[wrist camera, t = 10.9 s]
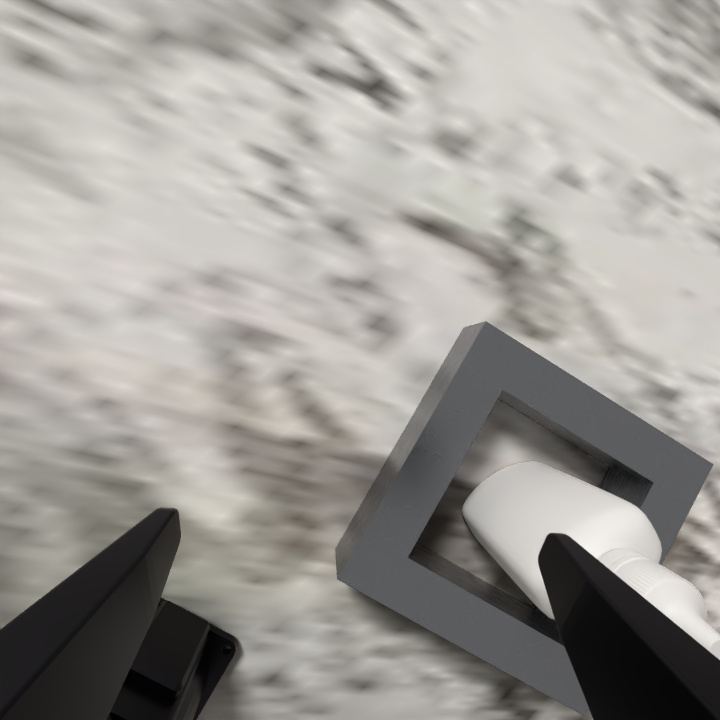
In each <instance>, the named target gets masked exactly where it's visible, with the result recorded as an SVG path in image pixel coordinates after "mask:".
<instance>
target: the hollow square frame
mask: <svg viewBox="0 0 720 720" xmlns="http://www.w3.org/2000/svg"><path fill="white" fill-rule="evenodd" d="M497 399H500V400H501V401H503V402H505V403H506V404H508V405H510V406H511V407H513V408H514V409H516V410H518V411H519V412H521V413H523V414H524V415H526V416H527V417H529V418H531V419H532V420H534V421H536V422H537V423H539V424H541V425H542V426H544V427H545V428H547V429H549V430H550V431H552V432H554V433H555V434H557V435H558V436H560V437H562V438H563V439H565V440H567V441H568V442H570V443H572V444H573V445H575V446H576V447H578V448H580V449H581V450H583V451H585V452H586V453H588V454H589V455H591V456H593V457H594V458H596V459H598V460H599V461H601V462H602V463H604V464H606V465H607V466H609V467H610V469H609V471H608V473H607V475H606V476H605V478H604V480H603V482H602V484H601V486H600V489H602V490H604V491H607V492H609V493H611V494H613V495H615V496H617V497H619V498H622V499H624V500H626V501H628V502H630V503H632V504H633V505H635V506H637V507H638V508H639V509H640V510H641V511H642V512H643V513H644V514H645V515H646V516H647V518H648V519H649V521H650V522H651V524H652V526H653V528H654V529H655V531H656V533H657V535H658V537H659V540H660V542H661V548H662V553H661V558H660V561H659V564H660V565H662V563H663V561H664V559H665V557H666V555H667V553H668V551H669V549H670V547H671V546H672V544H673V542H674V540H675V538H676V536H677V534H678V532H679V530H680V528H681V526H682V524H683V522H684V520H685V518H686V517H687V515H688V513H689V511H690V509H691V507H692V505H693V503H694V501H695V499H696V497H697V495H698V493H699V491H700V489H701V487H702V486H703V484H704V482H705V480H706V478H707V476H708V474H709V472H710V470H711V468H712V466H713V464H712V463H710V462H709V461H707V460H706V459H704V458H702V457H701V456H699V455H698V454H696V453H694V452H693V451H691V450H690V449H688V448H686V447H685V446H683V445H682V444H680V443H679V442H677V441H675V440H674V439H672V438H671V437H669V436H667V435H666V434H664V433H663V432H661V431H659V430H658V429H656V428H655V427H653V426H652V425H650V424H648V423H647V422H645V421H644V420H642V419H640V418H639V417H637V416H636V415H634V414H632V413H631V412H629V411H628V410H626V409H624V408H623V407H621V406H620V405H618V404H617V403H615V402H613V401H612V400H610V399H609V398H607V397H605V396H604V395H602V394H601V393H599V392H597V391H596V390H594V389H593V388H591V387H589V386H588V385H586V384H585V383H583V382H582V381H580V380H578V379H577V378H575V377H574V376H572V375H570V374H569V373H567V372H566V371H564V370H562V369H561V368H559V367H558V366H556V365H554V364H553V363H551V362H550V361H548V360H547V359H545V358H543V357H542V356H540V355H539V354H537V353H535V352H534V351H532V350H531V349H529V348H527V347H526V346H524V345H523V344H521V343H519V342H518V341H516V340H515V339H513V338H512V337H510V336H508V335H507V334H505V333H504V332H502V331H500V330H499V329H497V328H496V327H494V326H492V325H491V324H489V323H488V322H486V321H485V322H482V323H478V324H475V325H471V326H468V327H464V328H463V330H462V332H461V333H460V335H459V337H458V339H457V340H456V342H455V344H454V346H453V347H452V349H451V351H450V352H449V354H448V356H447V358H446V359H445V361H444V363H443V364H442V366H441V368H440V370H439V371H438V373H437V375H436V377H435V378H434V380H433V382H432V383H431V385H430V387H429V389H428V390H427V392H426V394H425V396H424V397H423V399H422V401H421V402H420V404H419V406H418V408H417V409H416V411H415V413H414V414H413V416H412V418H411V420H410V421H409V423H408V425H407V427H406V428H405V430H404V432H403V433H402V435H401V437H400V439H399V440H398V442H397V444H396V445H395V447H394V449H393V451H392V452H391V454H390V456H389V458H388V459H387V461H386V463H385V464H384V466H383V468H382V470H381V471H380V473H379V475H378V476H377V478H376V480H375V482H374V483H373V485H372V487H371V489H370V490H369V492H368V494H367V495H366V497H365V499H364V501H363V502H362V504H361V506H360V507H359V509H358V511H357V513H356V514H355V516H354V518H353V520H352V521H351V523H350V525H349V526H348V528H347V530H346V532H345V533H344V535H343V537H342V538H341V540H340V542H339V544H338V545H337V547H336V549H335V550H336V568H337V579H338V580H340V581H342V582H343V583H345V584H347V585H349V586H351V587H352V588H354V589H356V590H358V591H360V592H361V593H363V594H365V595H367V596H369V597H370V598H372V599H374V600H376V601H378V602H379V603H381V604H383V605H385V606H387V607H388V608H390V609H392V610H394V611H396V612H398V613H399V614H401V615H403V616H405V617H407V618H408V619H410V620H412V621H414V622H416V623H417V624H419V625H421V626H423V627H425V628H426V629H428V630H430V631H432V632H434V633H435V634H437V635H439V636H441V637H443V638H444V639H446V640H448V641H450V642H452V643H453V644H455V645H457V646H459V647H461V648H463V649H464V650H466V651H468V652H470V653H472V654H473V655H475V656H477V657H479V658H481V659H482V660H484V661H486V662H488V663H490V664H491V665H493V666H495V667H497V668H499V669H500V670H502V671H504V672H506V673H508V674H509V675H511V676H513V677H515V678H517V679H519V680H520V681H522V682H524V683H526V684H528V685H529V686H531V687H533V688H535V689H537V690H538V691H540V692H542V693H544V694H546V695H547V696H549V697H551V698H553V699H555V700H556V701H558V702H560V703H562V704H564V705H565V706H567V707H569V708H571V709H573V710H574V711H576V712H578V713H580V714H582V715H584V714H585V712H586V710H587V708H588V704H587V702H586V699H585V697H584V694H583V692H582V689H581V687H580V684H579V682H578V679H577V677H576V674H575V672H574V669H573V667H572V664H571V662H570V659H569V657H568V654H567V652H566V649H565V647H564V644H563V642H562V639H561V636H560V634H559V631H558V628H557V625H556V622H555V619H551V618H549V617H548V616H547V615H546V614H544V613H543V612H542V611H541V610H540V609H539V608H538V607H537V606H536V607H535V609H532V608H530V607H528V606H527V605H525V604H523V603H521V602H520V601H518V600H516V599H514V598H513V597H511V596H509V595H507V594H506V593H504V592H502V591H500V590H499V589H497V588H495V587H493V586H492V585H490V584H488V583H486V582H485V581H483V580H481V579H479V578H478V577H476V576H474V575H472V574H471V573H469V572H467V571H465V570H464V569H462V568H460V567H458V566H457V565H455V564H453V563H451V562H450V561H448V560H446V559H444V558H443V557H441V556H439V555H437V554H436V553H434V552H432V551H430V550H429V549H427V548H425V547H423V546H422V545H420V544H418V543H416V542H417V540H418V538H419V537H420V535H421V533H422V531H423V530H424V528H425V526H426V524H427V522H428V521H429V519H430V517H431V515H432V514H433V512H434V510H435V508H436V507H437V505H438V503H439V501H440V500H441V498H442V496H443V494H444V492H445V491H446V489H447V487H448V485H449V484H450V482H451V480H452V478H453V477H454V475H455V473H456V471H457V469H458V468H459V466H460V464H461V462H462V461H463V459H464V457H465V455H466V454H467V452H468V450H469V448H470V446H471V445H472V443H473V441H474V439H475V438H476V436H477V434H478V432H479V431H480V429H481V427H482V425H483V424H484V422H485V420H486V418H487V416H488V415H489V413H490V411H491V409H492V408H493V406H494V404H495V402H496V401H497Z"/></svg>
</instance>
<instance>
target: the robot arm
mask: <svg viewBox="0 0 720 720" xmlns="http://www.w3.org/2000/svg"><path fill="white" fill-rule="evenodd" d="M180 538H181V530H180V521H179V513H178V510H177V509H175V508H158V509H156V510H155V511H153V512H152V513H151V514H149V515H148V516H147V517H146V518H144V519H143V520H142V521H140V522H139V523H138V524H137V525H135V526H134V527H133V528H131V529H130V530H129V531H127V532H126V533H125V534H124V535H122V536H121V537H120V538H118V539H117V540H116V541H114V542H113V543H112V544H111V545H109V546H108V547H107V548H105V549H104V550H103V551H102V552H100V553H99V554H98V555H96V556H95V557H94V558H92V559H91V560H90V561H89V562H87V563H86V564H85V565H83V566H82V567H81V568H79V569H78V570H77V571H76V572H74V573H73V574H72V575H70V576H69V577H68V578H67V579H65V580H64V581H63V582H61V583H60V584H59V585H57V586H56V587H55V588H54V589H52V590H51V591H50V592H48V593H47V594H46V595H44V596H43V597H42V598H41V599H39V600H38V601H37V602H35V603H34V604H33V605H31V606H30V607H29V608H28V609H26V610H25V611H24V612H22V613H21V614H20V615H19V616H17V617H16V618H15V619H13V620H12V621H11V622H9V623H8V624H7V625H6V626H4V627H3V628H2V629H0V720H196V719H197V717H198V716H199V714H200V712H201V710H202V709H203V707H204V705H205V704H206V702H207V700H208V699H209V697H210V695H211V693H212V692H213V690H214V688H215V687H216V685H217V683H218V682H219V680H220V678H221V676H222V675H223V673H224V671H225V670H226V668H227V666H228V665H229V663H230V661H231V659H232V658H233V656H234V654H235V651H236V648H237V640H236V638H235V637H234V636H232V635H230V634H228V633H226V632H225V631H223V630H221V629H219V628H217V627H215V626H213V625H211V624H210V623H208V621H206V620H204V619H202V618H200V617H198V616H196V615H195V614H193V613H191V612H189V611H187V610H185V609H183V608H181V607H179V606H178V605H176V604H174V603H172V602H170V601H166V600H164V599H162V598H161V595H162V592H163V589H164V587H165V584H166V581H167V578H168V575H169V572H170V569H171V566H172V563H173V561H174V558H175V555H176V552H177V549H178V546H179V543H180ZM538 565H539V569H540V572H541V575H542V579H543V582H544V585H545V589H546V592H547V595H548V599H549V602H550V605H551V609H552V612H553V615H554V619H555V622H556V625H557V628H558V631H559V634H560V636H561V639H562V642H563V644H564V647H565V649H566V652H567V654H568V657H569V659H570V662H571V664H572V667H573V669H574V672H575V674H576V677H577V679H578V682H579V684H580V687H581V689H582V692H583V694H584V697H585V699H586V702H587V704H588V707H589V710H590V712H591V715H592V717H593V720H720V660H719V659H718V658H717V657H716V656H714V655H713V654H712V653H711V652H710V651H708V650H707V649H706V648H705V647H703V646H702V645H701V644H700V643H699V642H697V641H696V640H695V639H694V638H693V637H691V636H690V635H689V634H688V633H686V632H685V631H684V630H683V629H682V628H680V627H679V626H678V625H677V624H675V623H674V622H673V621H672V620H671V619H669V618H668V617H667V616H666V615H665V614H663V613H662V612H661V611H660V610H658V609H657V608H656V607H655V606H654V605H652V604H651V603H650V602H649V601H647V600H646V599H645V598H644V597H643V596H641V595H640V594H639V593H638V592H637V591H635V590H634V589H633V588H632V587H630V586H629V585H628V584H627V583H626V582H624V581H623V580H622V579H621V578H619V577H618V576H617V575H616V574H615V573H613V572H612V571H611V570H610V569H609V568H607V567H606V566H605V565H604V564H602V563H601V562H600V561H599V560H598V559H596V558H595V557H594V556H593V555H591V554H590V553H589V552H588V551H587V550H585V549H584V548H583V547H582V546H581V545H579V544H578V543H577V542H576V541H574V540H573V539H572V538H571V537H570V536H568V535H566V534H563V533H549V534H548V535H547V536H546V538H545V541H544V543H543V545H542V548H541V550H540V552H539V555H538ZM224 645H229V646H230V647H231V648H230V649H225V648H224Z"/></svg>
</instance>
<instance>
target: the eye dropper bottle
mask: <svg viewBox="0 0 720 720" xmlns="http://www.w3.org/2000/svg"><path fill="white" fill-rule="evenodd" d="M462 513H463V517H464V519H465V521H466V523H467V524H468V526H469V528H470V530H471V532H472V533H473V535H474V536H475V538H476V539H477V540H478V541H479V542H480V544H481V545H482V546H483V547H484V548H485V549H486V550H487V552H488V553H489V554H490V555H491V556H492V557H493V558H494V559H495V561H496V562H497V563H498V564H499V565H500V566H501V567H502V568H503V570H504V571H505V572H506V573H507V574H508V575H509V576H510V577H511V579H512V580H513V581H514V582H515V583H516V584H517V585H518V586H519V588H520V589H521V590H522V591H523V592H524V593H525V594H526V595H527V596H528V597H529V599H530V600H531V601H532V602H533V603H534V604H535V605H536V606H537V607H538V608H539V609H540V610H541V611H542V612H543V613H544V614H546V615H547V616H548V617H549V618H551V619H554V615H553V612H552V609H551V605H550V602H549V599H548V595H547V592H546V589H545V585H544V582H543V579H542V575H541V572H540V569H539V565H538V555H539V552H540V550H541V548H542V545H543V543H544V541H545V538H546V536H547V535H548V534H549V533H563V534H566V535H568V536H570V537H571V538H572V539H573V540H574V541H576V542H577V543H578V544H579V545H581V546H582V547H583V548H584V549H585V550H587V551H588V552H589V553H590V554H591V555H593V556H594V557H595V558H596V559H598V560H599V561H600V562H601V563H602V564H604V565H605V566H606V567H607V568H609V569H610V570H611V571H612V572H613V573H615V574H616V575H617V576H618V577H619V578H621V579H622V580H623V581H624V582H626V583H627V584H628V585H629V586H630V587H632V588H633V589H634V590H635V591H637V592H638V593H639V594H640V595H641V596H643V597H644V598H645V599H646V600H647V601H649V602H650V603H651V604H652V605H654V606H655V607H656V608H657V609H658V610H660V611H661V612H662V613H663V614H665V615H666V616H667V617H668V618H669V619H671V620H672V621H673V622H674V623H675V624H677V625H678V626H679V627H680V628H682V629H683V630H684V631H685V632H686V633H688V634H689V635H690V636H691V637H693V638H694V639H695V640H696V641H697V642H699V643H700V644H701V645H702V646H703V647H705V648H706V649H707V650H708V651H710V652H711V653H712V654H713V655H714V656H716V657H717V658H718V659H719V660H720V635H719V634H718V633H717V632H716V631H715V630H714V629H713V628H712V627H711V626H710V625H709V624H708V623H707V609H706V605H705V602H704V599H703V597H702V595H701V594H700V592H699V591H698V590H697V588H696V587H695V586H694V585H693V584H691V583H690V582H689V581H687V580H685V579H684V578H682V577H680V576H679V575H677V574H675V573H674V572H672V571H670V570H668V569H667V568H665V567H663V566H662V565H660V564H659V561H660V558H661V553H662V548H661V542H660V540H659V537H658V535H657V533H656V531H655V529H654V528H653V526H652V524H651V522H650V521H649V519H648V518H647V516H646V515H645V514H644V513H643V512H642V511H641V510H640V509H639V508H638V507H637V506H635V505H633V504H632V503H630V502H628V501H626V500H624V499H622V498H619V497H617V496H615V495H613V494H611V493H609V492H607V491H604V490H602V489H600V488H598V487H596V486H593V485H591V484H589V483H587V482H584V481H582V480H580V479H578V478H575V477H573V476H571V475H569V474H566V473H564V472H562V471H560V470H557V469H555V468H553V467H550V466H548V465H546V464H544V463H541V462H537V461H527V462H521V463H517V464H513V465H510V466H507V467H505V468H503V469H501V470H499V471H497V472H495V473H493V474H492V475H490V476H489V477H487V478H486V479H485V480H484V481H482V482H481V483H480V484H479V485H478V486H477V487H476V488H475V489H474V490H473V491H472V493H471V494H470V495H469V496H468V498H467V499H466V501H465V502H464V504H463V508H462Z"/></svg>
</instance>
